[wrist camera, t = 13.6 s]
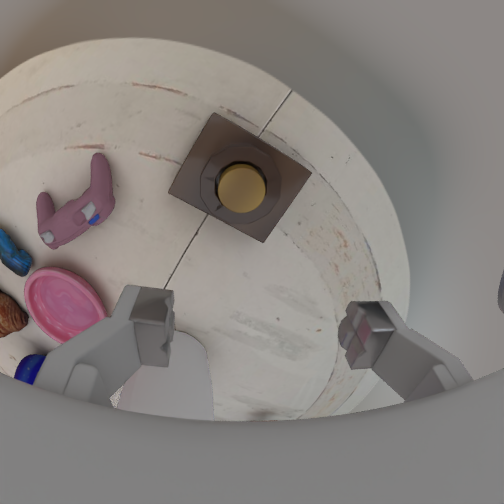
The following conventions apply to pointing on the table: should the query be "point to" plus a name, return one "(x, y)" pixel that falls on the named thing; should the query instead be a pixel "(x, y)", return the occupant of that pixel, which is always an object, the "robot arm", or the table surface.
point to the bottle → (173, 384)
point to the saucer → (62, 303)
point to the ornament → (29, 368)
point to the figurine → (14, 256)
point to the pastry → (11, 316)
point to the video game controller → (77, 208)
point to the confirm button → (241, 188)
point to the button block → (231, 153)
